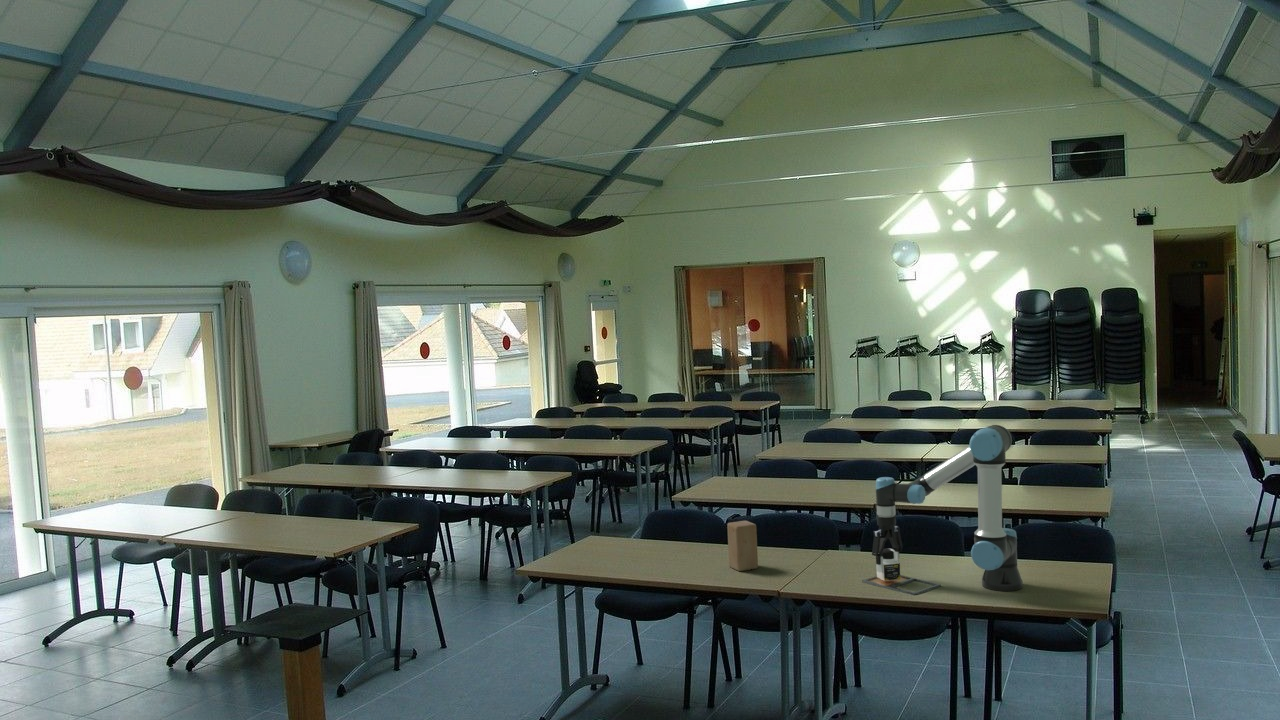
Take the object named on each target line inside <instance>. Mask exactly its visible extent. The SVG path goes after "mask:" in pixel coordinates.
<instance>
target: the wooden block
mask: <svg viewBox="0 0 1280 720" xmlns="http://www.w3.org/2000/svg"><path fill="white" fill-rule="evenodd" d="M757 531H758V530H757V525H756V523H753V522H751V521H749V520H739V521H733V522H728V523H727V548H728V550H727V551H728V553H727V554H728V567H729V568H731V569H734V570H735V571H738V572H743V571H751V569H752V570H756V569H758V568H759V561H758V559H759V558H758V557H759V556H758V535H757Z"/></svg>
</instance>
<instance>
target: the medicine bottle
mask: <svg viewBox="0 0 1280 720" xmlns="http://www.w3.org/2000/svg"><path fill="white" fill-rule="evenodd" d="M881 556H882V557H883V573H881V572H877V571H876V576H877V577H878V578H880V579H881V580H883V581H892V580H900V575H901V563H900V561H899V562H897V561H895V551H894V550H893V548H883V552H882V555H881ZM875 564H876V563H875ZM875 567H876V568H877V564H876V566H875Z"/></svg>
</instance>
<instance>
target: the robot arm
mask: <svg viewBox="0 0 1280 720" xmlns="http://www.w3.org/2000/svg"><path fill="white" fill-rule="evenodd" d="M1012 442H1013V439H1012V434H1011V432H1010V431H1009V430H1008V429H1007V428H1006V427H1005V426H1003V425H1000V424H992V425H988V426H986V427H984V428H980V429H978V430H977V431H976V432H974V433H973V435H972V436H971V437H970V440H969V445H968V446H966V447H965V448H964V449H962V450H961V451H959V452H957V453H955V454H954V455H953V456H951V457H949V458H948V459H946V460H944V461H943V462H941V463H940V464H938V465H937V466H935V467H934V468H932V469H931V470H929V471H927V472H925V474H923V475H921V476H920V477H918V478H917V479H915V480H913V481H910V482H909V483H897V482H896V481H895V479H894V478H893V477H889V476H882V477H878V478H876V480H875V499H876V515H877V516H876V524H877V526H878V530H873V531H872V532H873V540H872V541H873V542H872V548H871V549H872V552H871V555H872V556H874V557H875V564H877V567H876V573H877V572H881V573H883V557H882V556H881V555H882V552H883V549H885V544H886V542H887V541H888V540H889V542H890V544H891V547H892V549H893V550H894V551H895V561H897V562H899V563H900V553H901V552H902V550H903V542H902V536H901V533H900V531H901V528H900V526H898V525H896V524H897V517H896V514H897V513H896V512H897V510H896V503H902V504H903V503H905V504H912V505H914V504H917V505H918V504H919V505H920V504H923V503H924V502H925V499H926V497H927V496H929V495H930V494H931V493H933V492H934V491H936V490H937V489H939V488H941V487H942V486H945V484H947V483H949V482H951V481H952V480H953V479H955V478H956V477H959V476H960V475H961V474H963V473H965V472H967V471H968V470H969V469H971V468H973V467H974V466H976V468H977V514H978V516H977V517H978V518H977V521H978V522H977V523H978V527H977V529H976V530H975V531H974V532H973V533H974V534H973V536H974V537H973V540H974V541H973V542H974V544H973V545H972V547H971V550H970V556H971V557H970V558H971V559H972V562H973V563H974V564H975V565H976V566H977V567H978V568H980V569H982V570H983V571H984V572H983V574H982V578H981V585H982V587H984V588H985V589H988V590H991V591H992V590H993V591H1000V592H1013V591H1018V590H1021V589H1022V588H1023V586H1024V584H1023V579H1022V576H1021V574H1020V570H1019V567H1018V549H1017V548H1018V541H1017V540H1018V537H1017V531H1016V530H1015V529H1012V528H1007V527H1003V505H1002V504H1003V498H1002V497H1003V496H1002V495H1003V494H1002V491H1003V490H1002V489H1003V488H1002V485H1003V484H1002V479H1003V478H1002V468H1003V467H1004V466H1005V465H1006V460H1007V459H1006V452H1007V451H1009V450H1010V448H1011V447H1012Z"/></svg>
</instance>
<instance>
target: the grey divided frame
mask: <svg viewBox="0 0 1280 720" xmlns="http://www.w3.org/2000/svg"><path fill="white" fill-rule="evenodd" d="M861 582H862V583H863V584H868V585H872V586H877V587H880V588H884V589H887V590H893V591H896V592H901V593H904V594H909V595H911V596H916V595H919V594H921V593H925V592H928V591H931V590H934V589H937V588H940V587H942V584H941V583H937V582H933V581H930V580H929V581H928V580H924V579H921V578H915V577H912V576H908V575H907V576H906V575H904V574H903V575H902V574H900V580H892V581H883V580H881V579H880V578H878V577H877V575H875V576H871V577H869V578H866V579H865V578H864V579H862V580H861ZM912 582H917V583H922V584H926V585H931V586H928V587H925V588H922V589H920V590H915V591H911V590H906V589H904V588H903V589H902V588H899V586H902V585H906V584H909V583H912Z"/></svg>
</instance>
